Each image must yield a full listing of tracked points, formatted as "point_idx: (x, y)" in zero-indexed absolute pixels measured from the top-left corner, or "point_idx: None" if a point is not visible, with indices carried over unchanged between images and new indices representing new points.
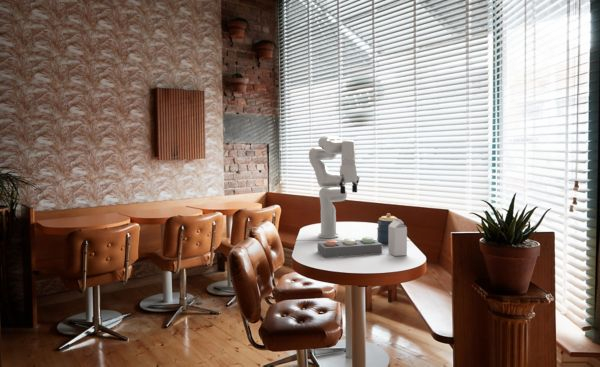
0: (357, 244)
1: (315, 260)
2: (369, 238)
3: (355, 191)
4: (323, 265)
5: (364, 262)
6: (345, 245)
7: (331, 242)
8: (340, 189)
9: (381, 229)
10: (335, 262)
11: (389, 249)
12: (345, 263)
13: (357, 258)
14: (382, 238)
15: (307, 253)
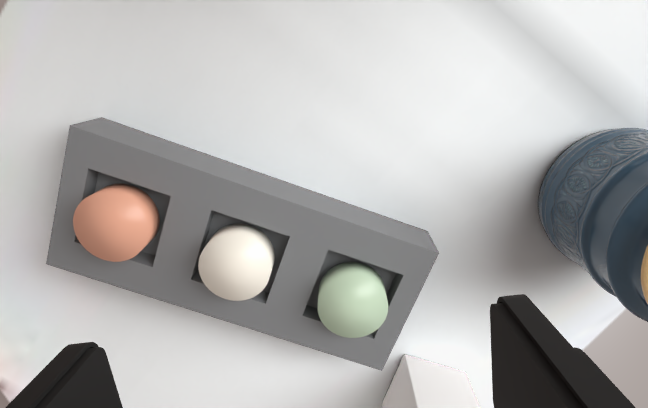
0: (268, 295)
1: (14, 251)
2: (362, 312)
3: (499, 404)
4: (15, 332)
5: (202, 393)
6: (188, 281)
7: (96, 256)
8: (11, 406)
9: (587, 237)
10: (87, 327)
11: (402, 377)
12: (119, 361)
13: (215, 335)
14: (553, 222)
15: (28, 113)
